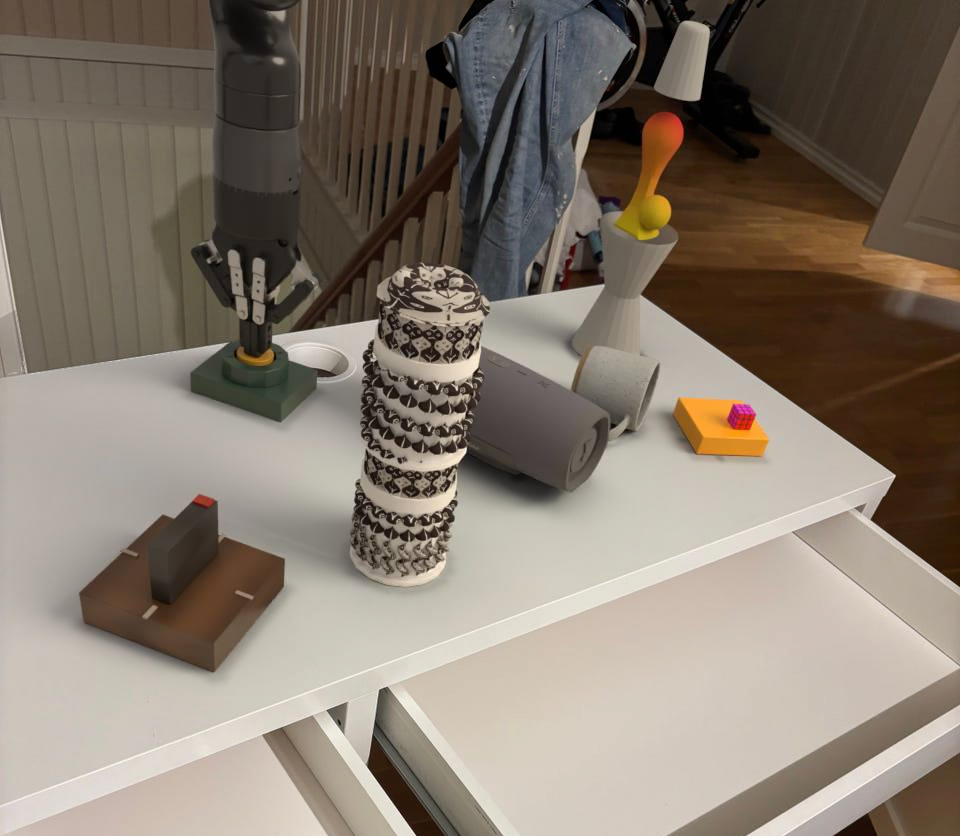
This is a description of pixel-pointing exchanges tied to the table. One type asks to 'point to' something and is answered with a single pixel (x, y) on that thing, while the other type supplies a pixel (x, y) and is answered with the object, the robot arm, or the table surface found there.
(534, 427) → the bluetooth speaker
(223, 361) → the button block
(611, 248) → the lava lamp
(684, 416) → the orange square block
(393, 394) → the patterned cylindrical tower
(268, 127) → the robot arm
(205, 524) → the rotary switch knob
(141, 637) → the rotary knob block
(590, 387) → the ceramic mug
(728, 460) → the table surface
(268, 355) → the button
